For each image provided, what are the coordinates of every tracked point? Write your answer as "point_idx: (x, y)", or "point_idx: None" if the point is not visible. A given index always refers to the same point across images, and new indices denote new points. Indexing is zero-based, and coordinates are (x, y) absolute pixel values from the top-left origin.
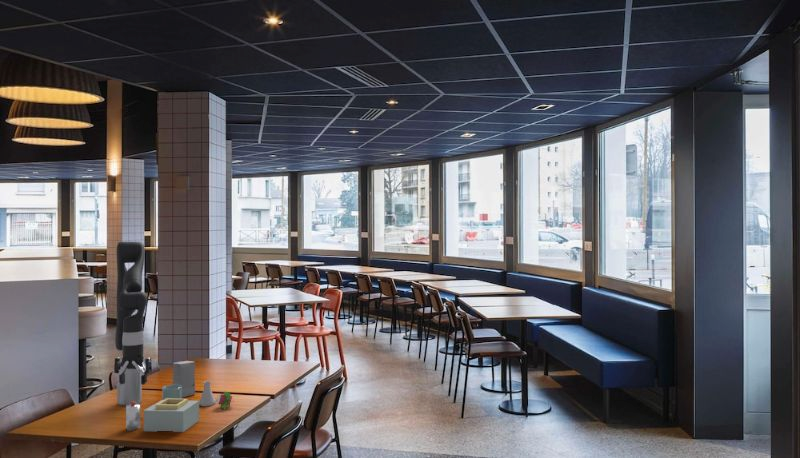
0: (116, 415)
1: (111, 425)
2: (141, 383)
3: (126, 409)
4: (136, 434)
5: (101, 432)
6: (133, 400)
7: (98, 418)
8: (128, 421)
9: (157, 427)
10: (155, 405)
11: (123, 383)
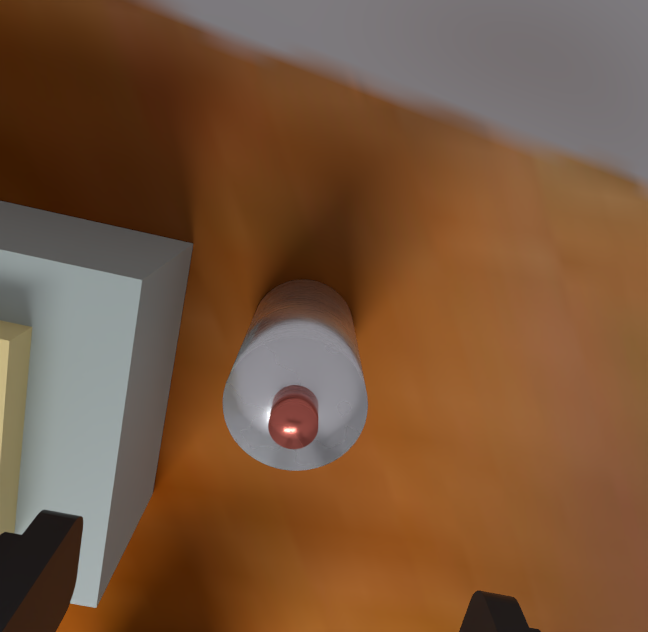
0: None
1: (489, 418)
2: (65, 523)
3: (351, 353)
4: (225, 171)
5: (522, 267)
6: None
7: (622, 579)
8: (323, 301)
9: (61, 220)
10: (82, 442)
11: (464, 627)
